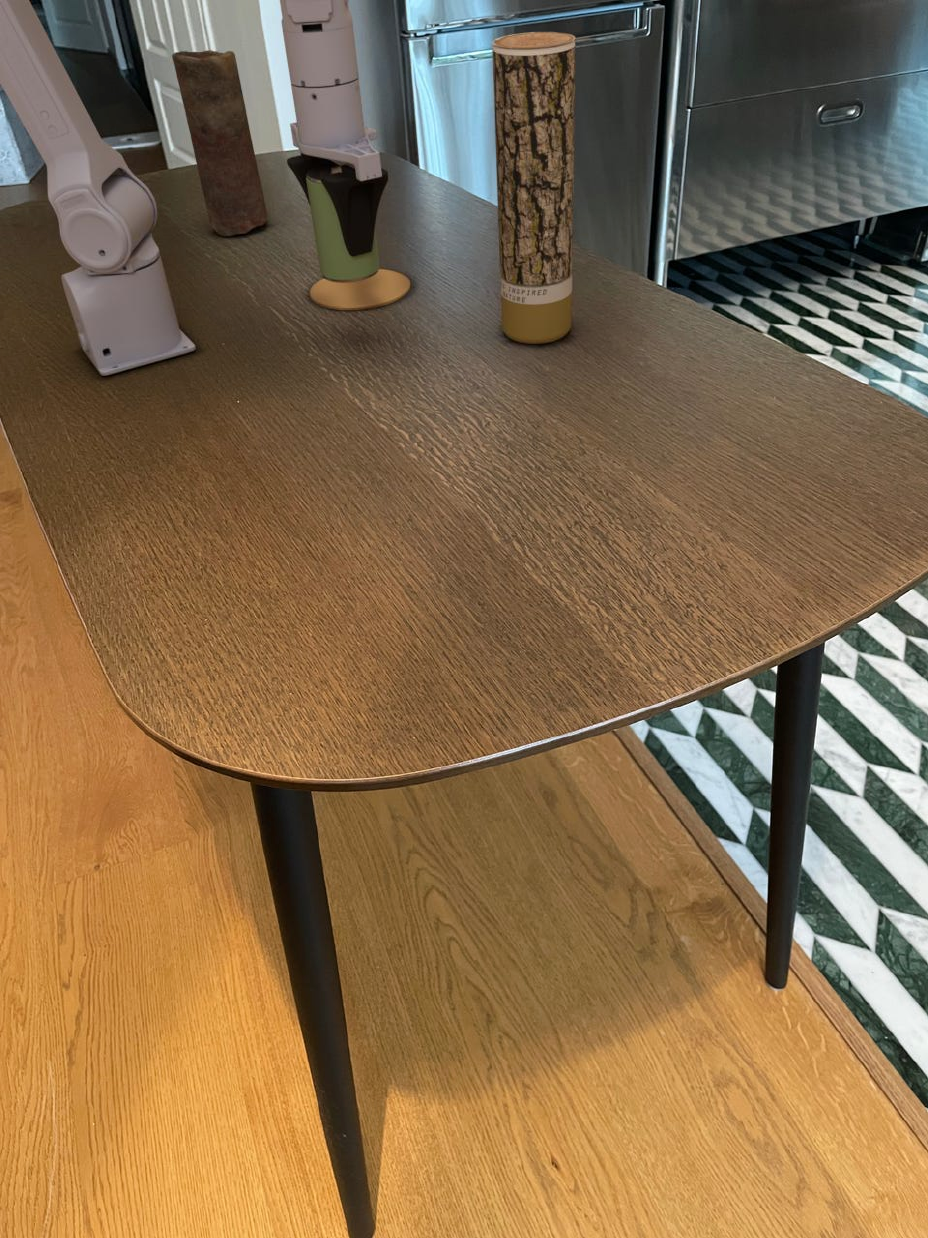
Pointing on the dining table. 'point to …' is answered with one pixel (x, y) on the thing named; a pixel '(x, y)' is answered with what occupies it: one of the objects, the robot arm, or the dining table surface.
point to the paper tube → (535, 182)
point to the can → (335, 235)
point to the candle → (221, 140)
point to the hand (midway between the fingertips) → (346, 243)
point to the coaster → (361, 291)
